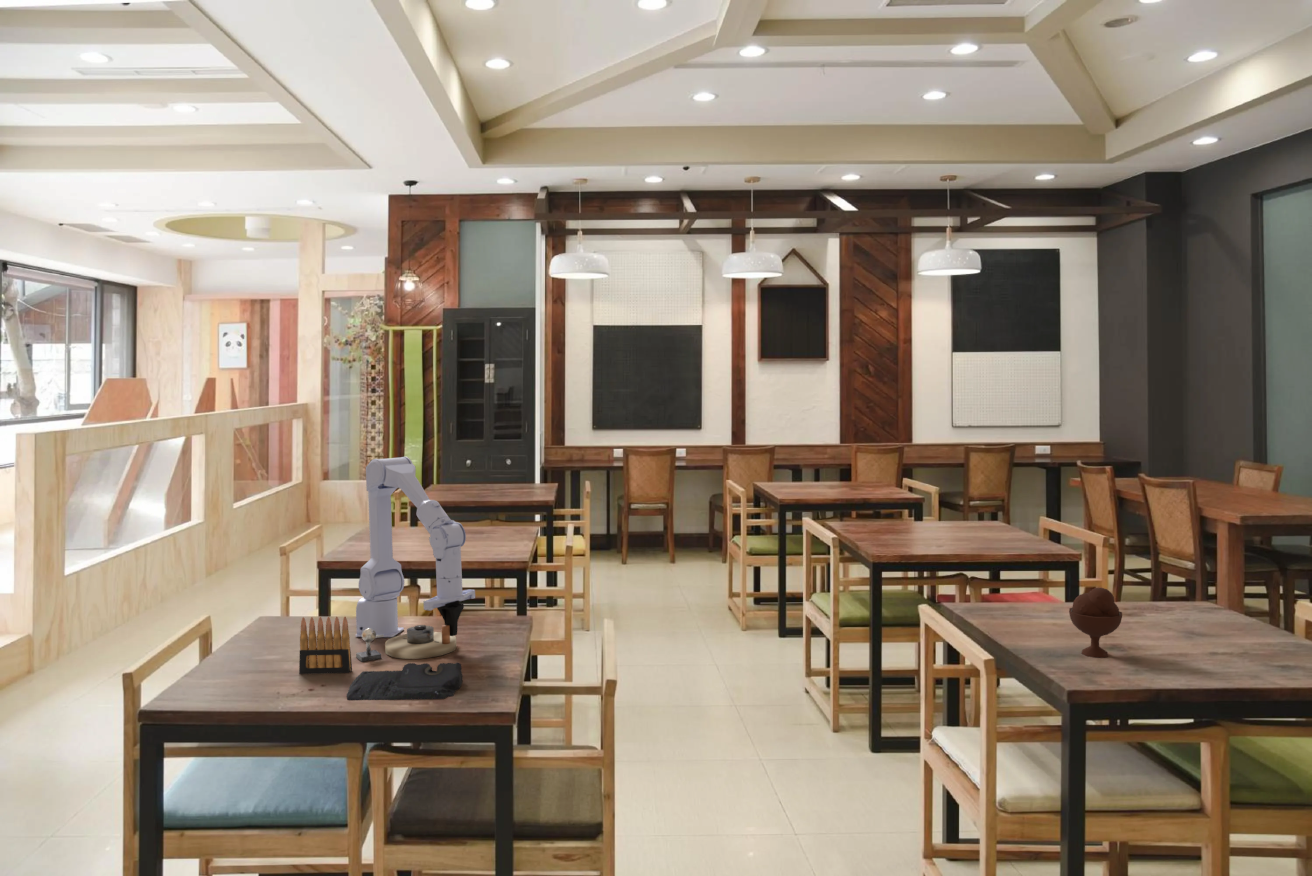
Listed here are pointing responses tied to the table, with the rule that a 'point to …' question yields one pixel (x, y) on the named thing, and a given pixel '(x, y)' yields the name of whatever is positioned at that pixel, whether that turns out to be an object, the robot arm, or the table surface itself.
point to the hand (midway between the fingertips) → (451, 635)
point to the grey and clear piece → (369, 646)
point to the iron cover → (420, 634)
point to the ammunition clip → (324, 648)
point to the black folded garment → (407, 683)
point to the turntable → (421, 646)
